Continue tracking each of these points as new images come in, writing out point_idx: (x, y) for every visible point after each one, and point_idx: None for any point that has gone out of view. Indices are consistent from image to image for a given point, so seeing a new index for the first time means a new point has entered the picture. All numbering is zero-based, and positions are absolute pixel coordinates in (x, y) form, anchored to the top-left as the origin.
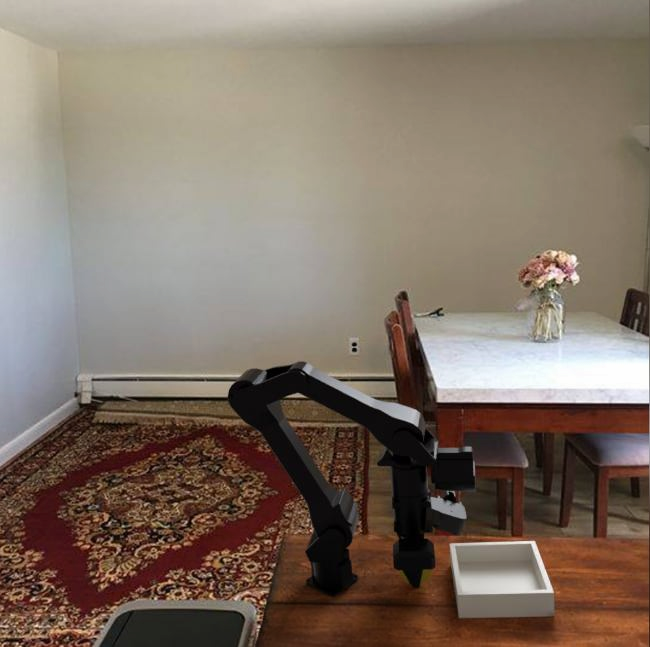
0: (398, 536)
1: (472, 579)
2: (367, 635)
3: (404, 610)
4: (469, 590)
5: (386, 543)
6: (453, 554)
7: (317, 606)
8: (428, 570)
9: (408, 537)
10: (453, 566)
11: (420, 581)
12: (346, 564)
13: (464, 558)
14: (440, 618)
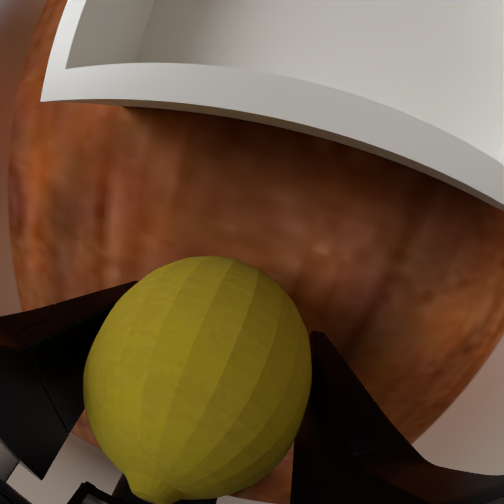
0: (63, 440)
1: (290, 32)
2: (404, 436)
3: (369, 365)
4: (382, 81)
5: (25, 296)
6: (144, 84)
7: (263, 477)
8: (294, 320)
9: (51, 408)
10: (319, 126)
11: (342, 358)
12: (198, 500)
13: (128, 37)
14: (463, 268)
